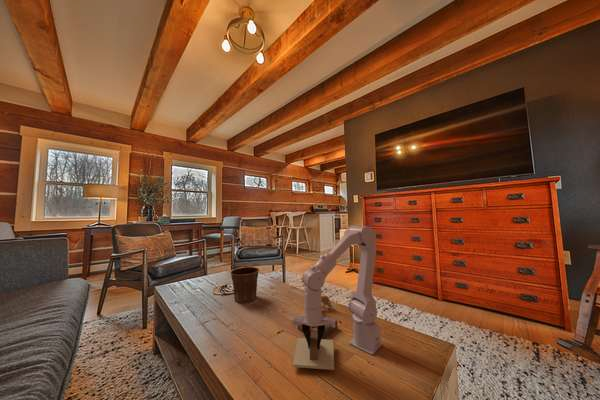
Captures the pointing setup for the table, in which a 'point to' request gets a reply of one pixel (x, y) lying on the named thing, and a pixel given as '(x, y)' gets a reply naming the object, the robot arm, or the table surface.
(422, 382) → the table surface
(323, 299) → the lion figurine
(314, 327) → the wooden tray
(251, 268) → the plant pot
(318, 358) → the lid
